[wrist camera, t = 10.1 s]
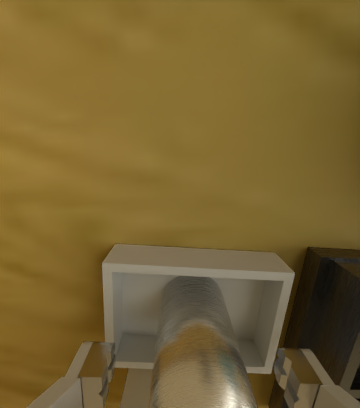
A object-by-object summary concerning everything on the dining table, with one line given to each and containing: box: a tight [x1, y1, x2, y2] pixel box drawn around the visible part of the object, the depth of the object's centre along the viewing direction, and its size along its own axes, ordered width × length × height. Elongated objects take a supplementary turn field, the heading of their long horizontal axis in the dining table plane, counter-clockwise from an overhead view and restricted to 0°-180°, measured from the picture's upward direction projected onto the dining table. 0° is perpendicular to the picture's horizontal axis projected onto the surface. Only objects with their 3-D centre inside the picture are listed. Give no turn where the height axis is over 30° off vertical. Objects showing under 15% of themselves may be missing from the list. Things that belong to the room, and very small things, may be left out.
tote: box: [102, 244, 295, 374], centre depth 12 cm, size 7×10×2 cm
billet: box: [148, 276, 258, 408], centre depth 9 cm, size 4×4×8 cm
